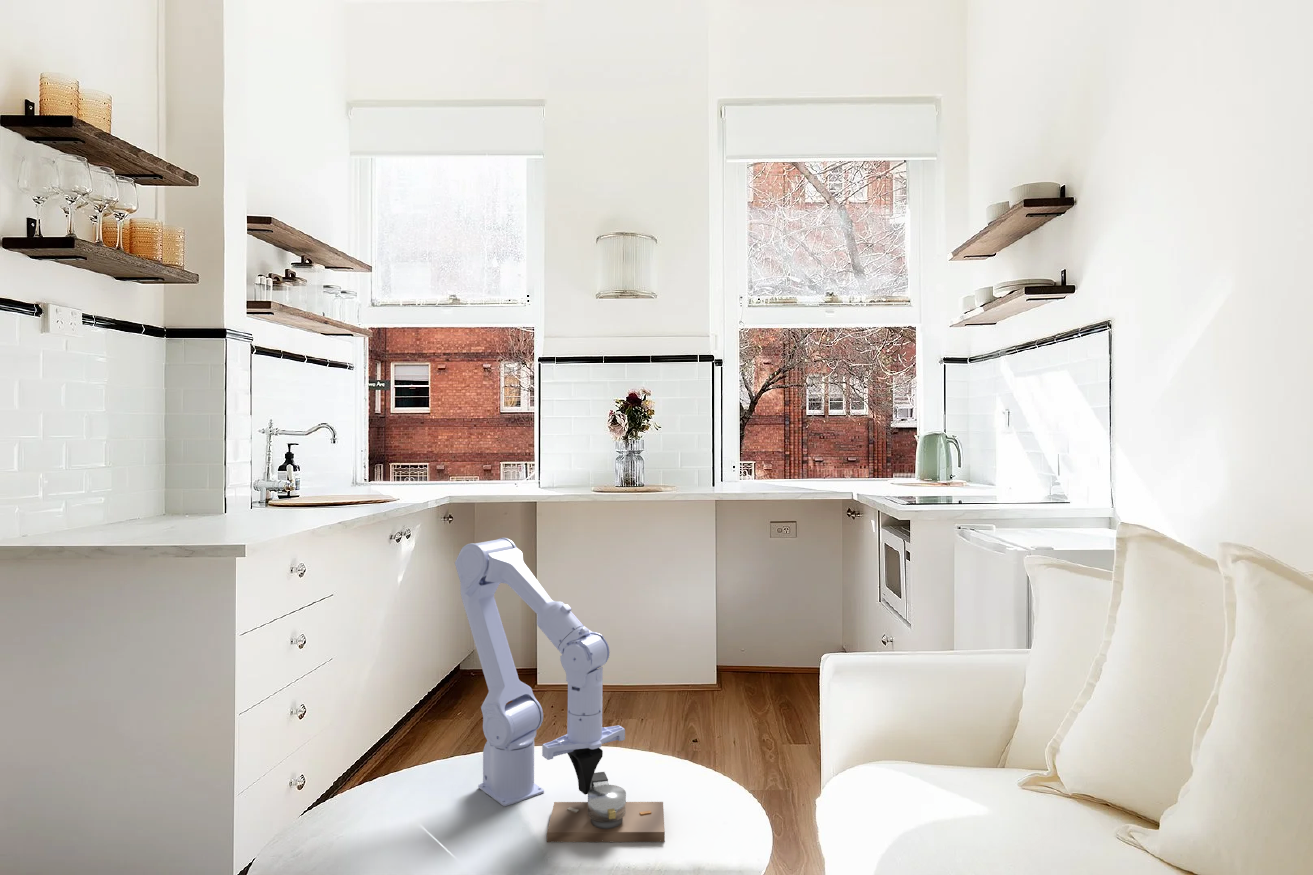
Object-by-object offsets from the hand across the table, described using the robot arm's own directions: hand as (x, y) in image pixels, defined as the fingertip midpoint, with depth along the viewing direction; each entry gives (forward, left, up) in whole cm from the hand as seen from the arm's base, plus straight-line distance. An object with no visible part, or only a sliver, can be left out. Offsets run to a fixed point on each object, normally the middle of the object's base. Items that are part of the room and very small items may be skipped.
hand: (584, 791), depth 126 cm
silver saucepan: (+5, 0, -1) cm, 5 cm away
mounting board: (+6, 0, -3) cm, 7 cm away
